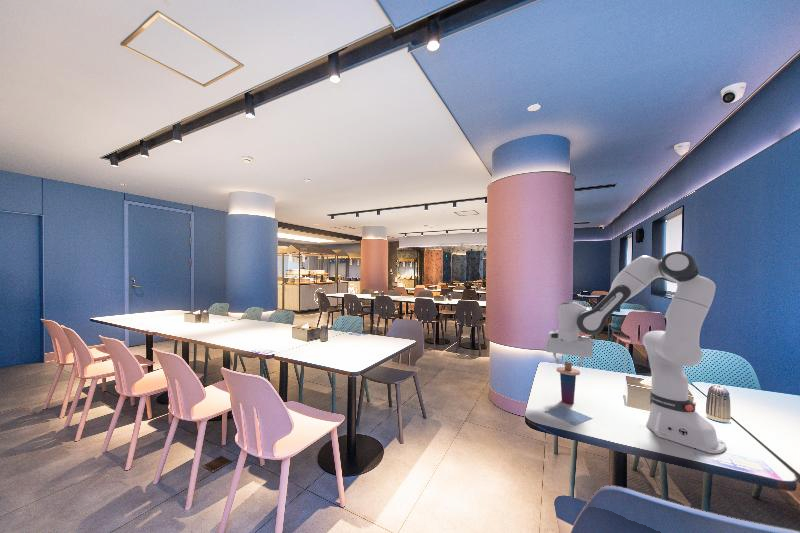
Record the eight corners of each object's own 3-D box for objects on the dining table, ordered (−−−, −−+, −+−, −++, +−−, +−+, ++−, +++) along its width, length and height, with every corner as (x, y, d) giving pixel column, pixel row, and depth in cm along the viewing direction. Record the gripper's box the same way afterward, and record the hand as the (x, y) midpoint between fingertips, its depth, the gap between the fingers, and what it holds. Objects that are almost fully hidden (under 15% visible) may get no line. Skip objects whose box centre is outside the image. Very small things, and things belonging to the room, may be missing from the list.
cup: (578, 406, 142) (578, 374, 143) (562, 405, 144) (562, 373, 144) (572, 400, 149) (573, 370, 149) (557, 399, 151) (558, 369, 151)
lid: (584, 373, 145) (584, 363, 145) (572, 376, 140) (572, 366, 140) (564, 367, 154) (564, 357, 154) (552, 370, 148) (552, 360, 148)
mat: (593, 419, 130) (593, 418, 130) (575, 426, 124) (575, 425, 124) (561, 406, 142) (561, 405, 142) (544, 412, 136) (544, 411, 136)
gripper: (593, 336, 145) (592, 365, 145) (545, 331, 155) (545, 359, 154) (594, 338, 139) (594, 369, 139) (545, 333, 149) (544, 362, 149)
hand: (568, 363), depth 147 cm, fingers open, 8 cm apart
